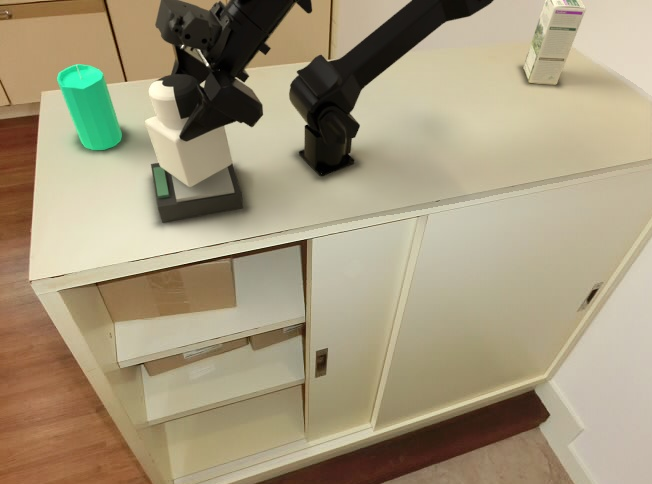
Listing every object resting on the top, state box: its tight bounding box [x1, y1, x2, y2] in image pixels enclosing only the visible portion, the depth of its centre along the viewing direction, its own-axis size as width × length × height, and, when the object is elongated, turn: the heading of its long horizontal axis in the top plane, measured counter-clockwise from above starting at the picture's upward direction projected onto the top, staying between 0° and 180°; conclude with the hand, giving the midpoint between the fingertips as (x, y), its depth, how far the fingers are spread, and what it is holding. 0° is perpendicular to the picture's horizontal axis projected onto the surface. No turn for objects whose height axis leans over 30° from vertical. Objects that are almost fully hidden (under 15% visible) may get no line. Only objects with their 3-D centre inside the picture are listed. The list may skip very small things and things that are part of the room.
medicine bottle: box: [144, 74, 233, 187], centre depth 67 cm, size 7×7×12 cm
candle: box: [56, 63, 123, 151], centre depth 77 cm, size 6×6×12 cm
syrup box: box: [522, 0, 587, 86], centre depth 97 cm, size 6×6×14 cm
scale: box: [150, 162, 244, 223], centre depth 74 cm, size 11×9×3 cm
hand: (173, 121), depth 65 cm, fingers closed on medicine bottle, 7 cm apart
